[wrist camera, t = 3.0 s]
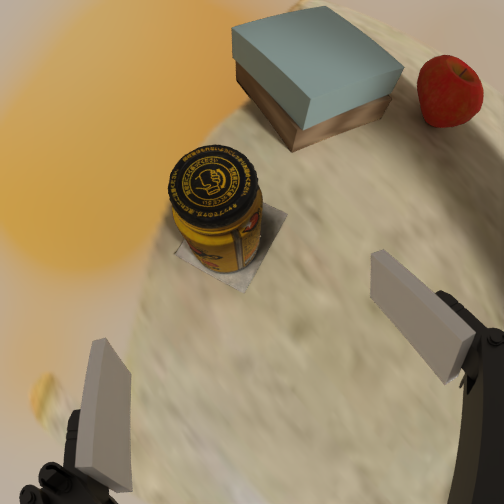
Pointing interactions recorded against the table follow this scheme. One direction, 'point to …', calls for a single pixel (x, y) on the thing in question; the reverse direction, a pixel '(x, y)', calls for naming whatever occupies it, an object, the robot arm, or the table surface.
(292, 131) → the tower base
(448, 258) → the table surface
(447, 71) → the apple
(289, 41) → the tower top
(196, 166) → the condiment
